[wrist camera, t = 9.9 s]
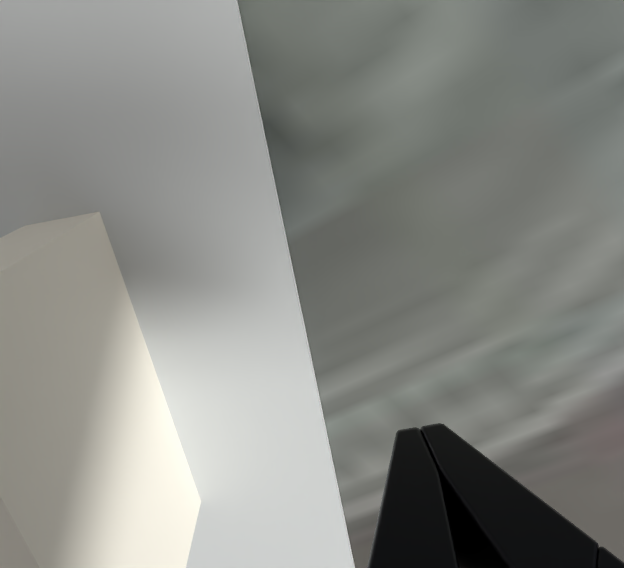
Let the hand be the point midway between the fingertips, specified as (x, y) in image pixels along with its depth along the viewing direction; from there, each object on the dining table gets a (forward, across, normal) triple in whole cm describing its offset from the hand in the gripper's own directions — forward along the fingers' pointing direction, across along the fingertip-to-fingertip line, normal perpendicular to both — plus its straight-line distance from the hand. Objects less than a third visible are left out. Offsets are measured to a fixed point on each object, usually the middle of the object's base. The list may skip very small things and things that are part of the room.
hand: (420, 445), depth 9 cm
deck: (+4, +7, 0) cm, 8 cm away
